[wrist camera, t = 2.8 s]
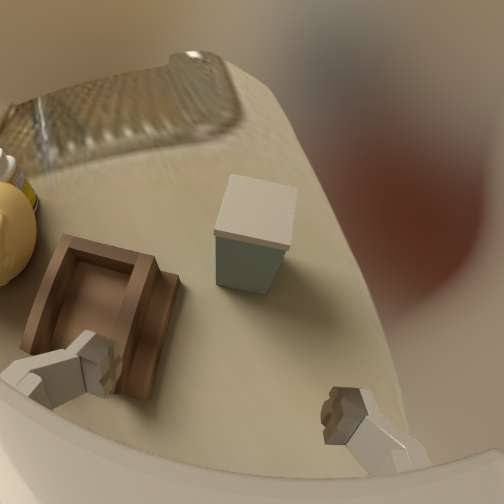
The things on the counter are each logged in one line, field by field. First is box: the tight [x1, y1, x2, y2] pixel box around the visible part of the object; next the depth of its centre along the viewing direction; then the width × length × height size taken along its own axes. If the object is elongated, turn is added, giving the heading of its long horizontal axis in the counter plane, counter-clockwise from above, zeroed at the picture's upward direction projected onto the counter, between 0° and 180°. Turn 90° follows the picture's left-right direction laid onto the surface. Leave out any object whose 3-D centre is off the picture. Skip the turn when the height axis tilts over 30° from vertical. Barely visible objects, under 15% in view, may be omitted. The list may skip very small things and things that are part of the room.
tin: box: [214, 174, 297, 295], centre depth 25 cm, size 5×5×10 cm
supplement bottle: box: [0, 148, 38, 213], centre depth 25 cm, size 6×6×10 cm
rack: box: [20, 234, 180, 401], centre depth 23 cm, size 12×14×4 cm
